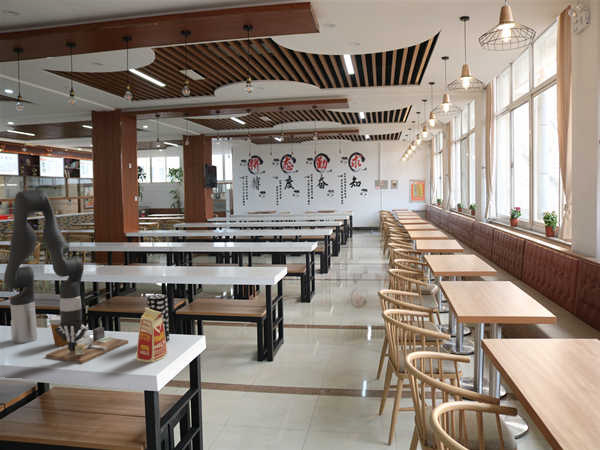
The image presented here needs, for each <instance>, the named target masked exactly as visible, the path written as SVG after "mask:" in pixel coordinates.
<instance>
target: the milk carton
mask: <svg viewBox="0 0 600 450" xmlns="http://www.w3.org/2000/svg"><path fill="white" fill-rule="evenodd" d="M144 309H145V311H144V313H142V315H141V318H140V323H139V328H138V329H139V330H138V337H137V344H136V359H135V360H136V361H138V362H146V363H154V362H157V361H159V360H160V361H161V360H162V359H165V357H166V356H167V355H166V354H168V349H167V348H168V347H167V346H168V345H167V343H166V338H165V330H164V324H163V319H162V316H161V315H160V314H161V313H162V312H158V311H153V310H151V309H148V307H144ZM165 355H166V356H165Z"/></svg>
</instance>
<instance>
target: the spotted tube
mask: <svg viewBox="0 0 600 450" xmlns="http://www.w3.org/2000/svg"><path fill="white" fill-rule="evenodd" d="M146 300H147V308H148V309H151V310H153V311H158V312H162V313H161V314H160V315H161V316H162V319H163V324H164V330H165V338H166V342H167V343H169V342H170V326H169V322H170V321H169V302H168V295H167V294H163V293H160V294H152V295H149V296H147V299H146ZM168 341H169V342H168Z"/></svg>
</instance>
